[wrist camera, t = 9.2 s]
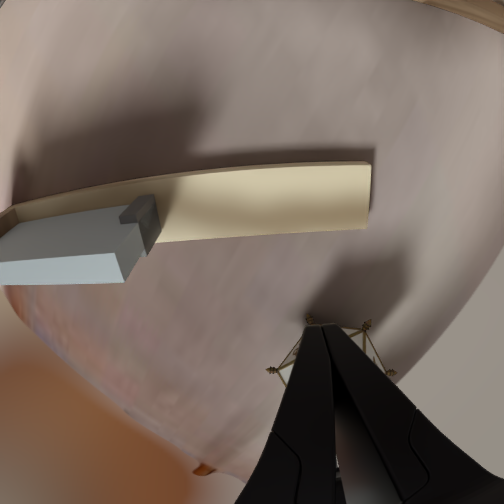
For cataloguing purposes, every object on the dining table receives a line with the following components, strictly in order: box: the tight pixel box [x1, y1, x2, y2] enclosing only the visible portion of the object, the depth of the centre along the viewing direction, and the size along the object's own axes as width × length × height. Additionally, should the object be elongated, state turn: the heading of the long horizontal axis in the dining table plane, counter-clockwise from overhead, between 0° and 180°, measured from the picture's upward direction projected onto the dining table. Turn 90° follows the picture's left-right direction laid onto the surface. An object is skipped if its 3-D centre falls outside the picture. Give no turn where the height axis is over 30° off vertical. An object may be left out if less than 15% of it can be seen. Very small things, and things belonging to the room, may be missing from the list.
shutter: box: [0, 194, 162, 285], centre depth 15 cm, size 2×12×6 cm, turn 95°
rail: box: [0, 161, 371, 243], centre depth 16 cm, size 4×26×4 cm, turn 95°
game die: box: [265, 314, 397, 387], centre depth 20 cm, size 9×8×10 cm
